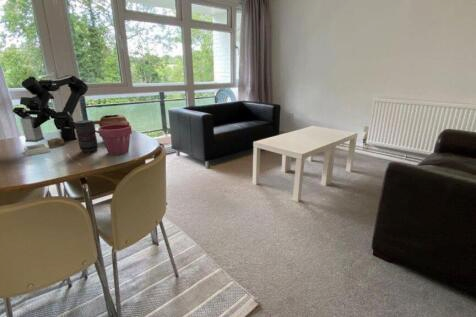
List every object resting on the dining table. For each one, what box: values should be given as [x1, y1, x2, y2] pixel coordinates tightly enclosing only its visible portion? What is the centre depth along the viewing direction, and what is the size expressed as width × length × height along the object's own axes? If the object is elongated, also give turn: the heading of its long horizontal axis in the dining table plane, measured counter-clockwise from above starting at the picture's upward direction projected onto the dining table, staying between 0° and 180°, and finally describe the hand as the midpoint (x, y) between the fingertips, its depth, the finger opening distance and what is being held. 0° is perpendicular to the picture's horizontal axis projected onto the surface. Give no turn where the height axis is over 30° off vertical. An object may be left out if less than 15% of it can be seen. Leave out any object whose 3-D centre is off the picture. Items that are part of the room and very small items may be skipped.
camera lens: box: [74, 119, 99, 154], centre depth 127 cm, size 8×8×15 cm
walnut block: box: [47, 137, 65, 148], centre depth 138 cm, size 5×5×4 cm
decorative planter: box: [92, 114, 130, 134], centre depth 147 cm, size 20×12×14 cm, turn 128°
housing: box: [19, 115, 45, 143], centre depth 125 cm, size 5×5×12 cm
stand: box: [23, 142, 51, 156], centre depth 128 cm, size 9×9×3 cm
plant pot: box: [97, 124, 133, 156], centre depth 126 cm, size 14×14×13 cm
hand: (29, 127), depth 123 cm, fingers closed on housing, 5 cm apart
